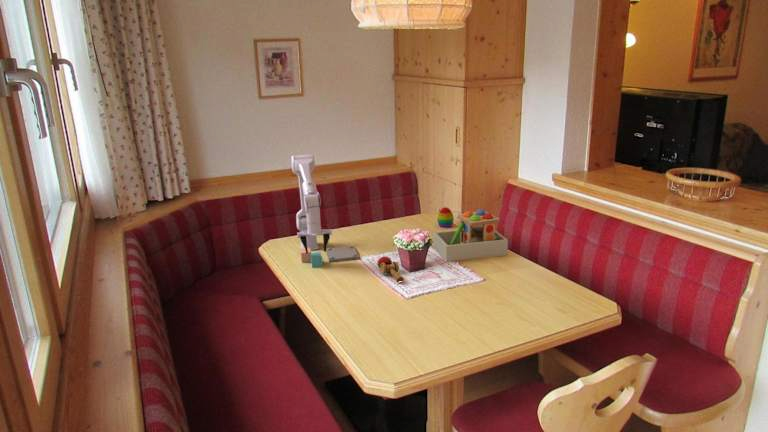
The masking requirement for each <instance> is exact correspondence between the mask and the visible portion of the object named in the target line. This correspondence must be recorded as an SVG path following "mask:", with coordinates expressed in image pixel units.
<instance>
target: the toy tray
mask: <svg viewBox="0 0 768 432" xmlns="http://www.w3.org/2000/svg"><path fill="white" fill-rule="evenodd" d="M456 231H457V229H455V230H454V229H453V230H447V231H446V230H445V231H444V230H443V231H436V232H433V248H434V249H435V250H436V251H437V253H438V254H439V255H440V256H441V257H442V258H443V260H445V262H448V263H449V262H455V261H457V262H458V261H465V260H474V259H482V258H491V257H493V258H494V257H500V256H502V257H503V256H507V255H508V248H509V247H508V245H509V244H508V243H509V240H508V239H507V238H506V237H505V236H504V235H502V234H501V233H500V232H499V231H497V230H496V229H495V236H496V237H497V239H495V240H494V241H485V242H475V243H466V244H459V243H460V234H459V236H458V238H457V240H456V242H455V244H454V245H450V243H451V241H452V239H453V237H454V235H455V233H456ZM475 234H476V233H475V232H474V231H472V236H473V235H475Z"/></svg>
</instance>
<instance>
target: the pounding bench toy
mask: <svg viewBox="0 0 768 432" xmlns="http://www.w3.org/2000/svg"><path fill="white" fill-rule="evenodd" d="M456 216H457V217H456V218H457V219H458V220H460V222H459V225H458V227H457V229H456V230H457V231H456V233H455V235H454V237H453V239H452V241H451V243H450V245H454V244H455V242H456V240H457V238H458V236H459V234H460V243H459V244H466V243H475V242H485V241H494V240H495V239H497V237H496V236H495V230H496V223H500V222H501V219H500V218H499V217H497V216H495V215H493V214H492V213H490V212H488V211H486V210H484V209H483V208H481V209H478V210H477V211H473V212H472V211H470V210H467V211H465V212H464V213H457V215H456ZM472 231H474V232H475V233H476V234H475V235H473V236H472Z"/></svg>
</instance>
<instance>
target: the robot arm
mask: <svg viewBox="0 0 768 432" xmlns="http://www.w3.org/2000/svg"><path fill="white" fill-rule="evenodd" d="M315 161H316V160H315V156H314V155H313V154H312V153H311V154H300V155H291V161H290V162H291V170H292V173H293V174H295V175H297V178H298V187H299V196H300V205H301V206H300V207H301V209H299V211H297V213H296V214H295V215H296V216H295V221H296V222H295V223H296V228H297V230H298V231H299V232H297V233H296V234H297V235H296V236H297V239H300V249H302V248H305V250H306V254H307V253H308V250H307V248H310V249H311V251H313V250H315V251H316V250H319V249H320V248H319V245H318V239H317V237H318V236H322V237H323V252H324V253H326V249H327V248H328V247H327V246H328V243H329V241H330V238H331V235H332V236H333V231H332V228H329V229H328V228H327V229H324V228H322V226H321V225H322V224H321V222H322V221H321V209H320V208H321V205H322V204H321V203H322V200H321V196H320V193H319V191H318V190H317V186H316V181H314V180H313V179H312V172H313V171H314V170H315V165H316V163H315Z"/></svg>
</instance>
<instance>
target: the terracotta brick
mask: <svg viewBox="0 0 768 432" xmlns="http://www.w3.org/2000/svg"><path fill="white" fill-rule="evenodd" d="M299 250H300V260H301V263H302V264H303V263H311V253H312V250H311V249H310V248H307V250H308V253H307V254H306V250H305V248H302V249H301V248H300V249H299Z"/></svg>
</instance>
